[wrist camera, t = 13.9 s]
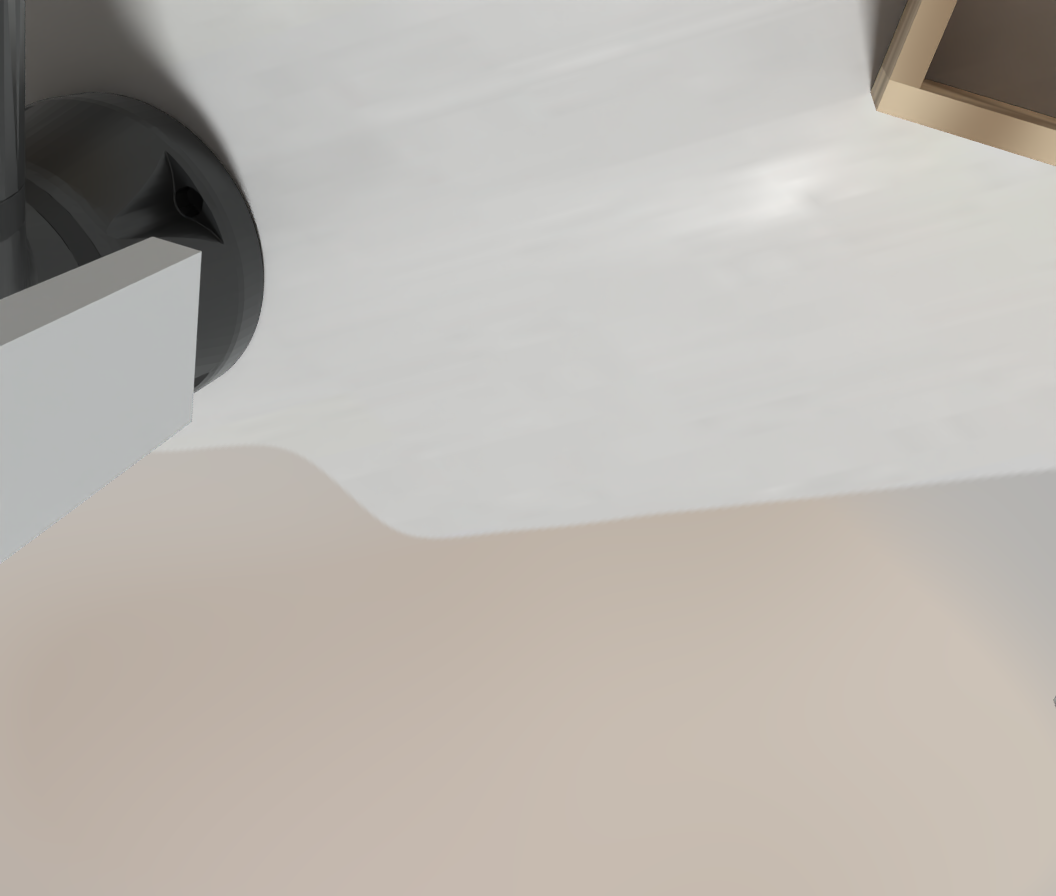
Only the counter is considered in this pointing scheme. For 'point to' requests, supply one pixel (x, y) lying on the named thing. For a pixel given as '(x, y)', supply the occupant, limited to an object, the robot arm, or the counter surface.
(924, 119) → the frame
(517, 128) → the counter surface
